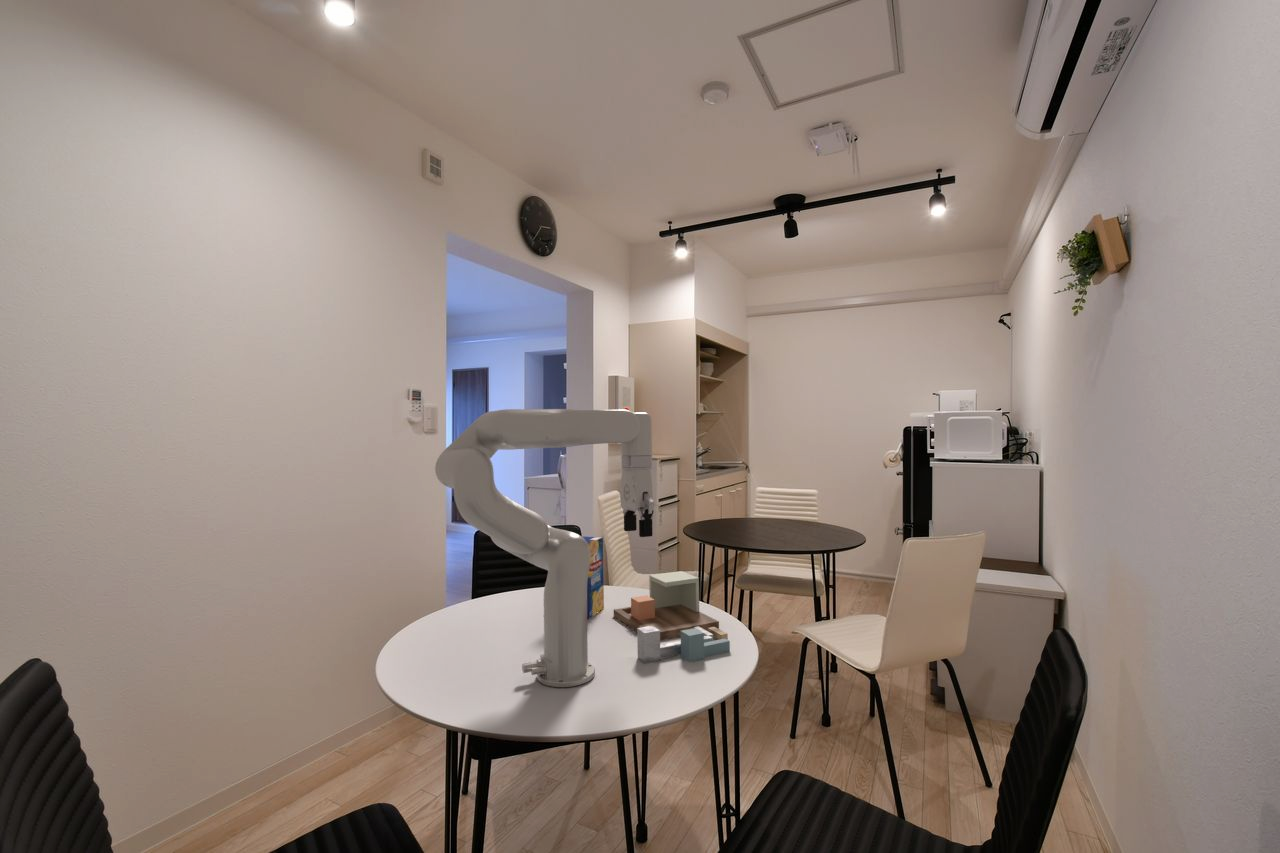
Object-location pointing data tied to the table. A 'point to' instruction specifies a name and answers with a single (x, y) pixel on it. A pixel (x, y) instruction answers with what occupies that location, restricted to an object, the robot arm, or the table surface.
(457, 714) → the table surface
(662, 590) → the cubby
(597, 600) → the blue food box
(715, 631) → the short block
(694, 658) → the light blue l-shaped block
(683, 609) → the deck
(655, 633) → the crook
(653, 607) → the cube
